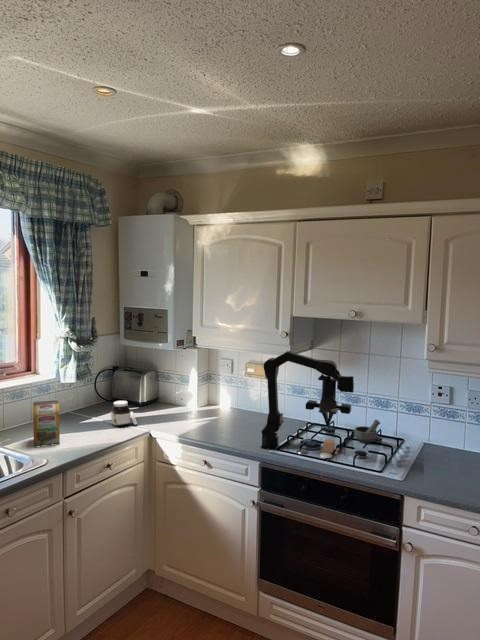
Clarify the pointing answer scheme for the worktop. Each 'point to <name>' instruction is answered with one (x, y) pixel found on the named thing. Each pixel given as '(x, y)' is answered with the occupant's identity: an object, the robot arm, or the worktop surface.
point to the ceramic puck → (326, 455)
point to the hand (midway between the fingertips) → (327, 426)
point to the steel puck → (302, 452)
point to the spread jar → (121, 414)
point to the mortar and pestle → (366, 433)
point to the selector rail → (300, 444)
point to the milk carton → (46, 422)
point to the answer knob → (328, 445)
